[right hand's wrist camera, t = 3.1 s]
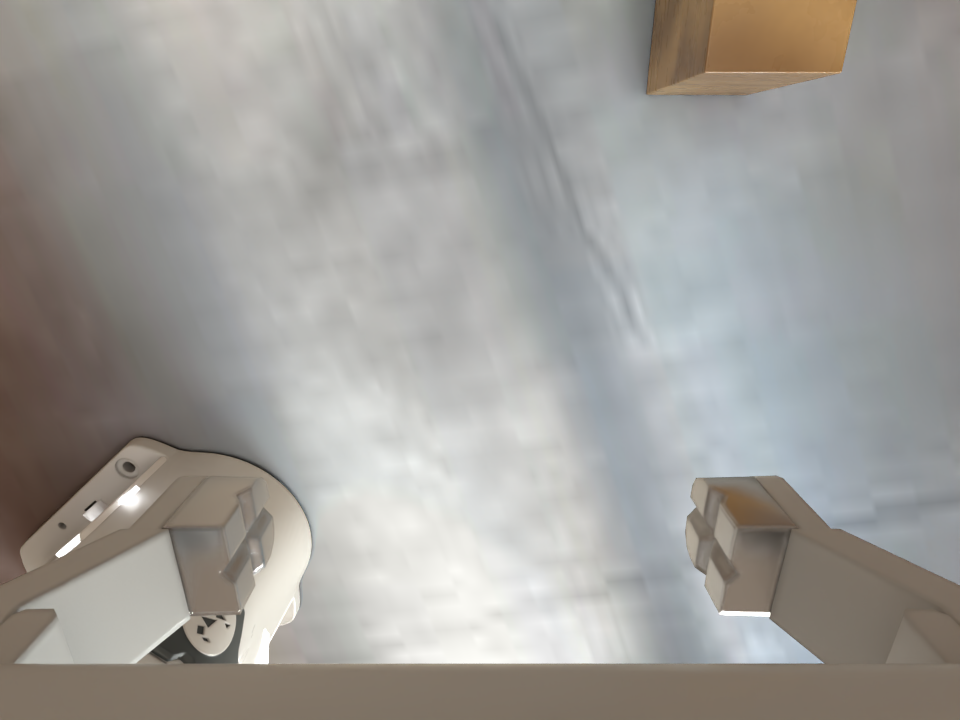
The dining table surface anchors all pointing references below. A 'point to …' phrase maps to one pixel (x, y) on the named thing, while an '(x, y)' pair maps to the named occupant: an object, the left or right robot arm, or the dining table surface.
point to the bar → (745, 44)
